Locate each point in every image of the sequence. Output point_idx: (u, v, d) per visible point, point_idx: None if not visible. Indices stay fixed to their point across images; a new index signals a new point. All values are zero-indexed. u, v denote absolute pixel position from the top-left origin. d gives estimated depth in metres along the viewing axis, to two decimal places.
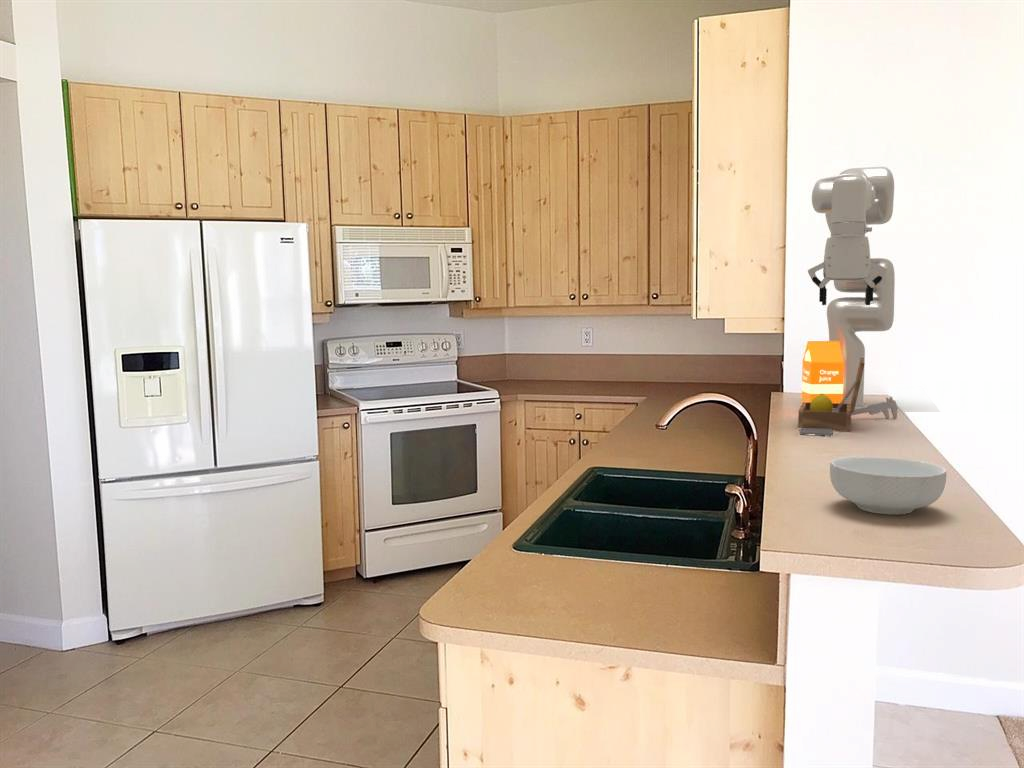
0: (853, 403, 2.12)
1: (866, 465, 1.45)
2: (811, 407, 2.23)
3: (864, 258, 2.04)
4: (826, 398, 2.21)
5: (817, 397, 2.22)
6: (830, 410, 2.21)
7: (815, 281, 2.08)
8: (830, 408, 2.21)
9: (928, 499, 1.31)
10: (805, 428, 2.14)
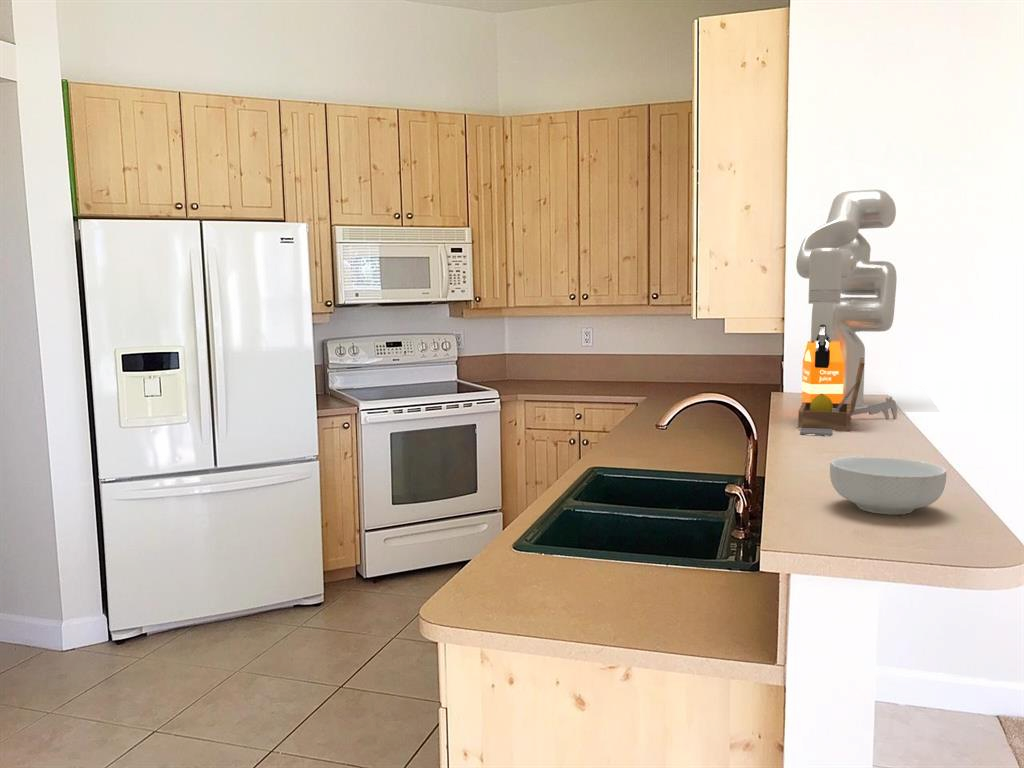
0: (853, 403, 2.12)
1: (866, 465, 1.45)
2: (811, 407, 2.23)
3: None
4: (826, 398, 2.21)
5: (817, 397, 2.22)
6: (830, 410, 2.21)
7: (825, 345, 2.14)
8: (830, 408, 2.21)
9: (928, 499, 1.31)
10: (805, 428, 2.14)
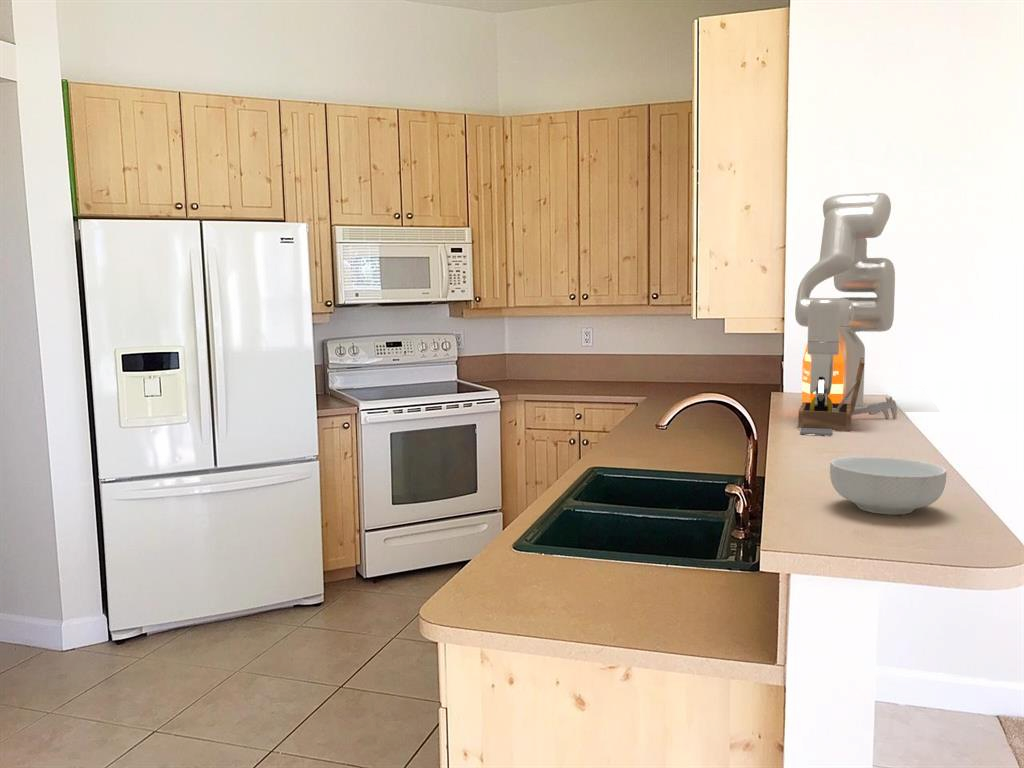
0: (853, 403, 2.12)
1: (866, 465, 1.45)
2: (811, 407, 2.23)
3: None
4: None
5: None
6: (830, 410, 2.21)
7: (824, 400, 2.18)
8: (830, 408, 2.21)
9: (928, 499, 1.31)
10: (805, 428, 2.14)
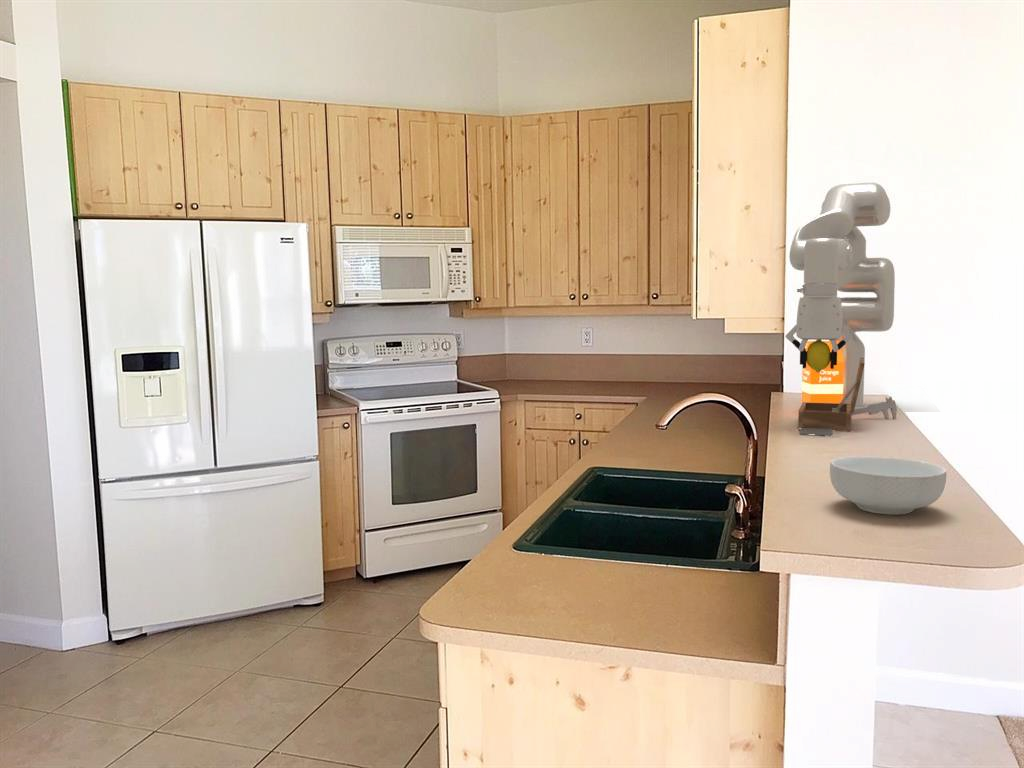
0: (853, 403, 2.12)
1: (866, 465, 1.45)
2: (824, 354, 2.06)
3: None
4: None
5: (824, 343, 2.07)
6: None
7: None
8: None
9: (928, 499, 1.31)
10: (805, 428, 2.14)
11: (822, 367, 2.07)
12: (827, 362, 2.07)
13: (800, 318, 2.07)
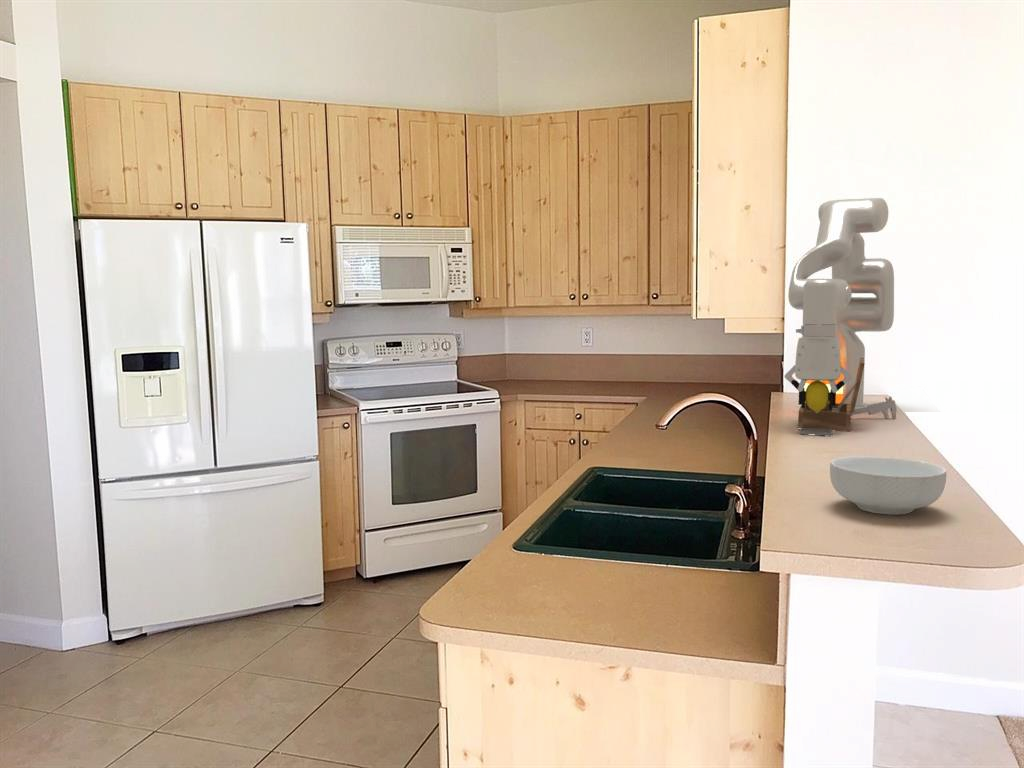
0: (853, 403, 2.12)
1: (866, 465, 1.45)
2: (823, 395, 2.07)
3: None
4: None
5: (822, 384, 2.08)
6: None
7: None
8: None
9: (928, 499, 1.31)
10: (805, 428, 2.14)
11: (821, 408, 2.08)
12: (826, 403, 2.08)
13: (799, 359, 2.08)
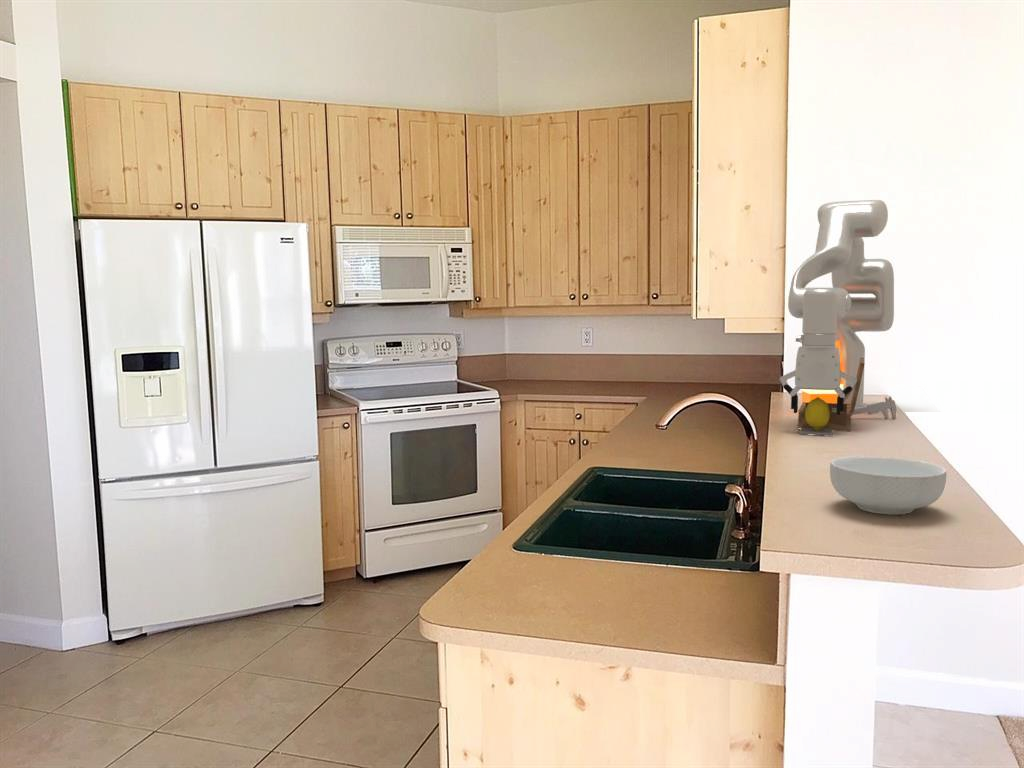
0: (853, 403, 2.12)
1: (866, 465, 1.45)
2: (823, 413, 2.08)
3: None
4: None
5: (822, 401, 2.09)
6: None
7: None
8: None
9: (928, 499, 1.31)
10: (805, 428, 2.14)
11: (821, 425, 2.09)
12: (826, 420, 2.08)
13: (799, 368, 2.08)
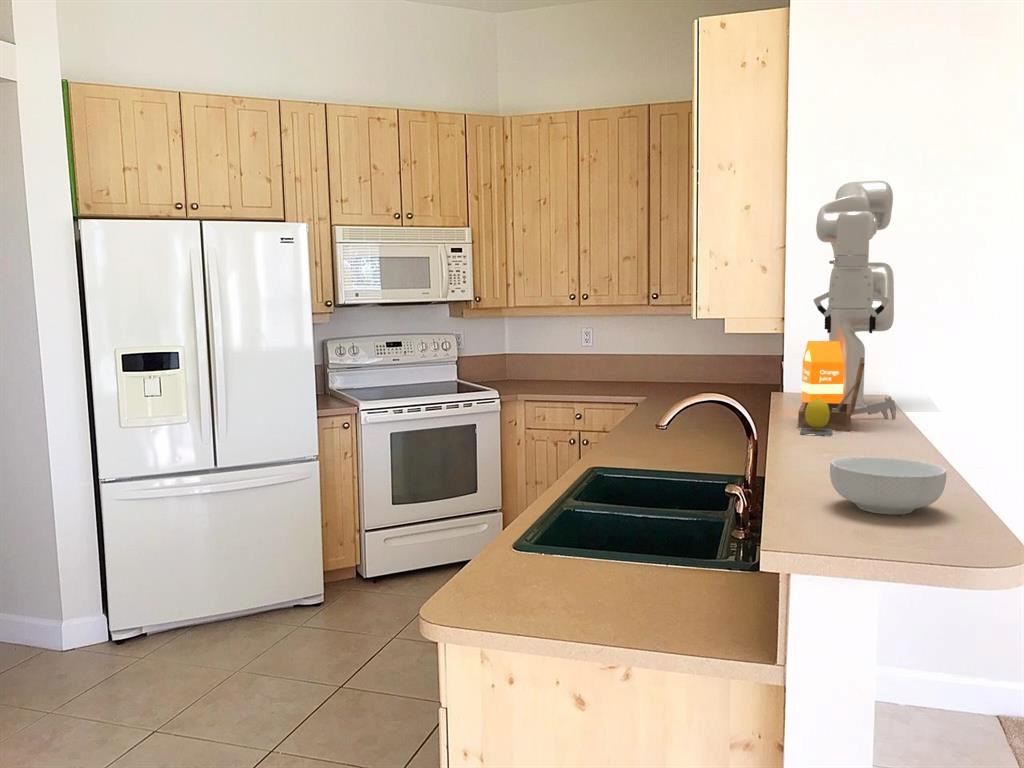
0: (853, 403, 2.12)
1: (866, 465, 1.45)
2: (823, 413, 2.08)
3: None
4: None
5: (822, 401, 2.09)
6: None
7: None
8: None
9: (928, 499, 1.31)
10: (805, 428, 2.14)
11: (821, 425, 2.09)
12: (826, 420, 2.08)
13: (832, 289, 2.16)
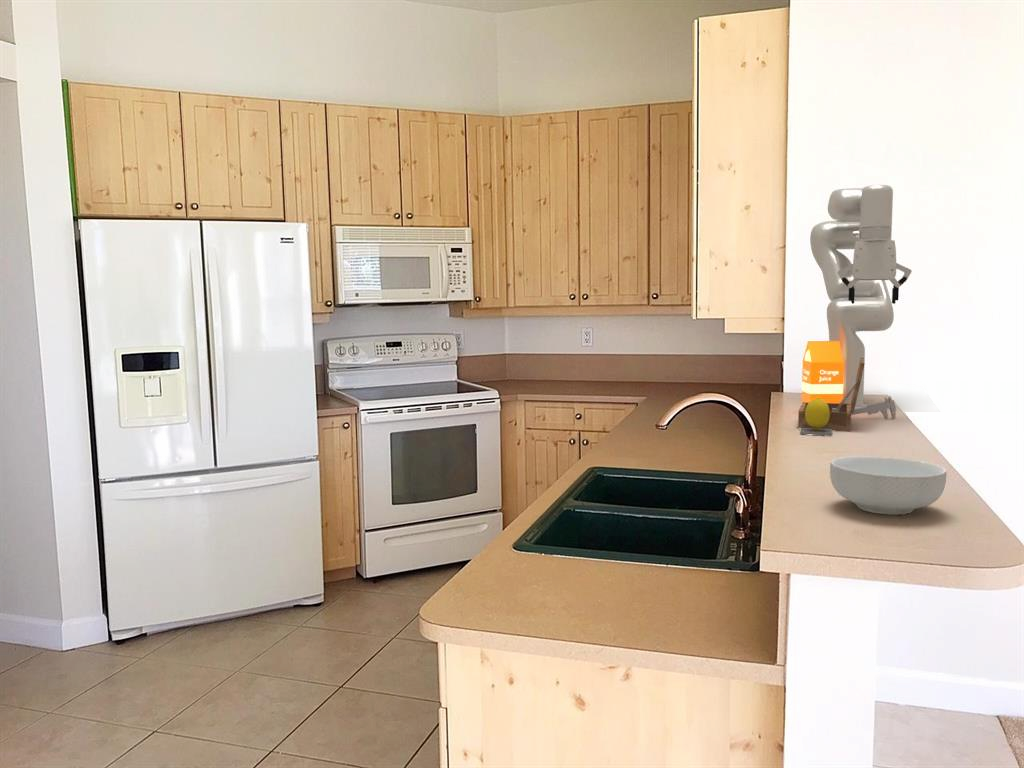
0: (853, 403, 2.12)
1: (866, 465, 1.45)
2: (823, 413, 2.08)
3: None
4: None
5: (822, 401, 2.09)
6: None
7: None
8: None
9: (928, 499, 1.31)
10: (805, 428, 2.14)
11: (821, 425, 2.09)
12: (826, 420, 2.08)
13: (856, 260, 2.22)
